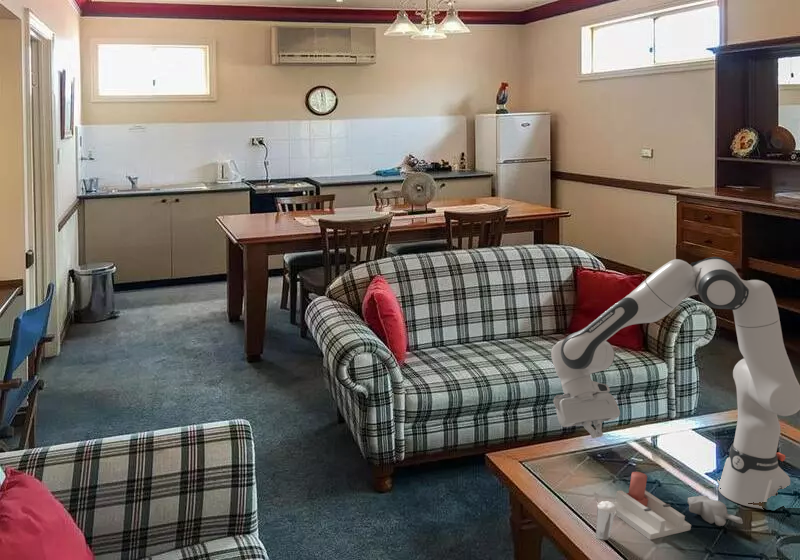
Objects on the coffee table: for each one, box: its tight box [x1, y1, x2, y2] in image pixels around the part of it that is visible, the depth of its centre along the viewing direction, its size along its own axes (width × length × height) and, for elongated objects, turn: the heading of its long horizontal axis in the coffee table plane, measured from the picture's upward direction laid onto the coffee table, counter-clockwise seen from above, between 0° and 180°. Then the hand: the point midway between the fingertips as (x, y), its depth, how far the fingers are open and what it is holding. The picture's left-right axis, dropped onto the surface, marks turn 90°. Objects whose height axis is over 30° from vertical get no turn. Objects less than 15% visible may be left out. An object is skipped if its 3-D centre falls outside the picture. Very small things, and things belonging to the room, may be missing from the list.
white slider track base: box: [610, 489, 692, 540], centre depth 196 cm, size 14×16×5 cm
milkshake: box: [595, 497, 616, 541], centre depth 185 cm, size 4×5×10 cm
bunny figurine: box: [687, 495, 744, 527], centre depth 198 cm, size 10×5×15 cm
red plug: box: [625, 471, 648, 506], centre depth 199 cm, size 4×4×8 cm
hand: (597, 437), depth 213 cm, fingers closed
